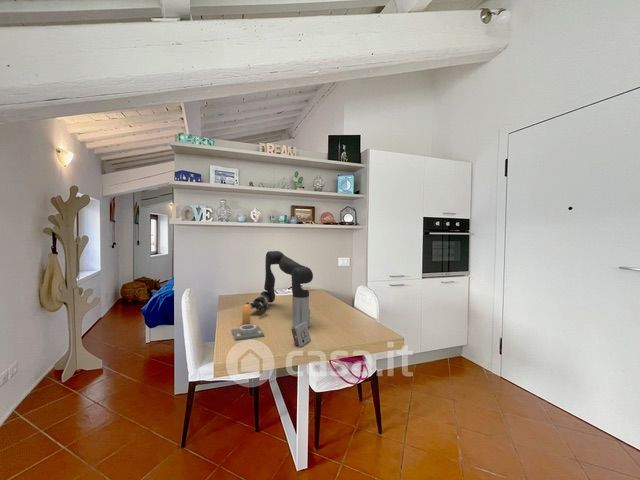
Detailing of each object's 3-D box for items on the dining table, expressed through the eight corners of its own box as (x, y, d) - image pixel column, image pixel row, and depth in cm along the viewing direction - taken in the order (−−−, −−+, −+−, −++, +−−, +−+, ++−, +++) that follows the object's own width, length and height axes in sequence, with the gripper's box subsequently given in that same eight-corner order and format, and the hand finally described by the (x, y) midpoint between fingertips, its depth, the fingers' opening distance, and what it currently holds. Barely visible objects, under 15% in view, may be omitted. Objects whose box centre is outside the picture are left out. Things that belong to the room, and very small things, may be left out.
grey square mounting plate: (258, 327, 150) (258, 321, 150) (264, 336, 137) (264, 329, 137) (231, 331, 144) (231, 324, 144) (235, 340, 131) (235, 333, 131)
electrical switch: (300, 347, 124) (299, 327, 124) (291, 346, 127) (290, 326, 127) (311, 341, 132) (309, 321, 133) (302, 340, 135) (300, 321, 135)
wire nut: (249, 322, 159) (249, 303, 159) (251, 324, 155) (251, 305, 155) (241, 323, 157) (242, 304, 157) (243, 325, 153) (243, 306, 153)
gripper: (250, 296, 182) (240, 302, 166) (271, 297, 181) (263, 303, 165) (250, 307, 182) (240, 314, 166) (271, 308, 181) (263, 315, 165)
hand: (252, 308), depth 165 cm, fingers open, 8 cm apart
